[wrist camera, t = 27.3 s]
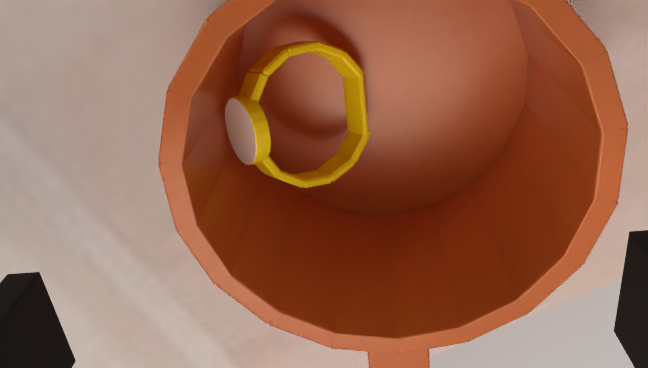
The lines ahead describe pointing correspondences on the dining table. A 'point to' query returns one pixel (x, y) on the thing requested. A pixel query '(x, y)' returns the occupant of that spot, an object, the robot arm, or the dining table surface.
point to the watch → (252, 126)
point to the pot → (398, 167)
